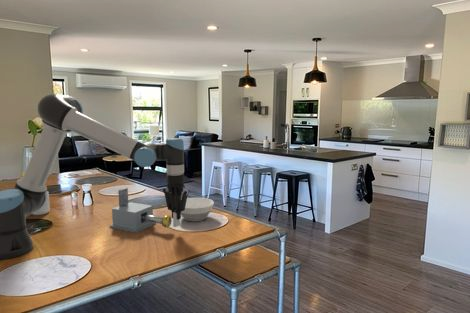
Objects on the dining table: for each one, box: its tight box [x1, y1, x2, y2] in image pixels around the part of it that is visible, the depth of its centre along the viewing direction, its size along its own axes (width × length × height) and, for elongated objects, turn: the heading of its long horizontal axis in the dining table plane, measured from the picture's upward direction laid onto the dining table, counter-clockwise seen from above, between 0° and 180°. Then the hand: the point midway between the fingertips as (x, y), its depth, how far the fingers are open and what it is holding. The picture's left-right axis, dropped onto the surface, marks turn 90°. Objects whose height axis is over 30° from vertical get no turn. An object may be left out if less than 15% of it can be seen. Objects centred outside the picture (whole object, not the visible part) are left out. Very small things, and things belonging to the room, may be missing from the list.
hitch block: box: [109, 201, 157, 234], centre depth 160 cm, size 16×14×9 cm
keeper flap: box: [117, 187, 129, 207], centre depth 161 cm, size 8×5×1 cm
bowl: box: [181, 197, 215, 222], centre depth 171 cm, size 19×19×8 cm
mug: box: [31, 190, 51, 216], centre depth 179 cm, size 12×9×11 cm
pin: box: [141, 214, 172, 228], centre depth 155 cm, size 18×5×5 cm, turn 64°
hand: (176, 225), depth 149 cm, fingers closed
